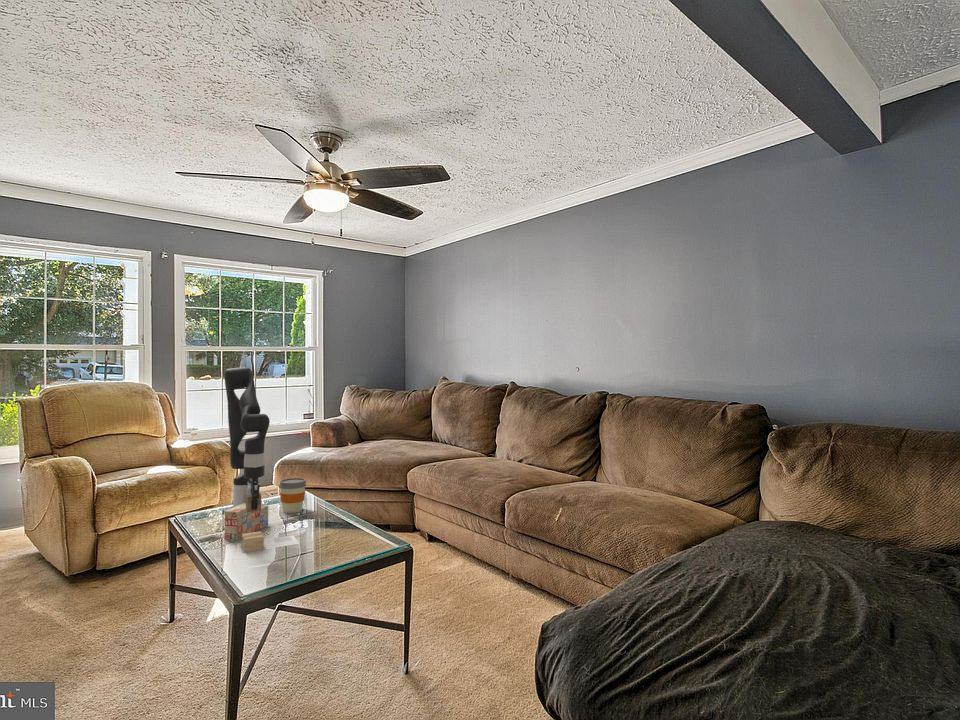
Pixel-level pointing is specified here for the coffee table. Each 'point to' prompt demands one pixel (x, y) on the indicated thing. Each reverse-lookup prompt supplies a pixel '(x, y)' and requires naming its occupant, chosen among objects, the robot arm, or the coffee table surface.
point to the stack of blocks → (244, 521)
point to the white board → (274, 543)
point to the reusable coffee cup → (292, 494)
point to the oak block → (252, 541)
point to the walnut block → (248, 503)
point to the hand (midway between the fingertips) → (253, 507)
